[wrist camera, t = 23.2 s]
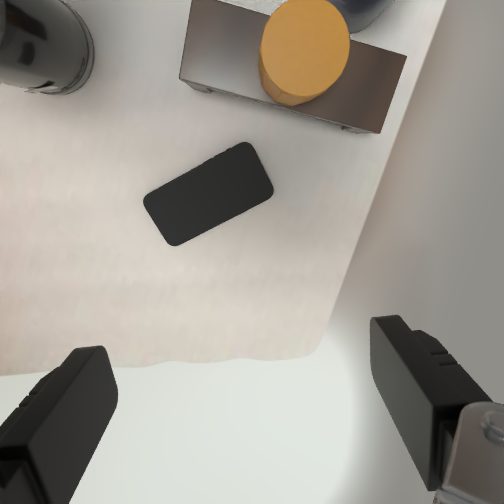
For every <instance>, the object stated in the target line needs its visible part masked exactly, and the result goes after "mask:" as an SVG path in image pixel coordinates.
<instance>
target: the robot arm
mask: <svg viewBox="0 0 504 504" xmlns="http://www.w3.org/2000/svg"><path fill="white" fill-rule="evenodd" d="M93 59H94V50H93V43H92V39H91V36H90V33H89V31H88V29H87V27H86V25H85V23H84V22H83V20H82V19H81V18H80V16H79V15H78V14H77V13H76V12H75V11H74V10H73V9H72V8H71V7H69V6H68V5H67V4H65V3H64V2H62V1H61V0H0V83H1V84H6V85H11V86H16V87H21V88H26V89H30V90H29V91H24V92H29V93H35V92H41V93H45V94H50V95H64V94H68V93H71V92H73V91H75V90H77V89H78V88H80V87H81V86H82V85H83V84H84V82H85V81H86V80H87V78H88V76H89V75H90V72H91V69H92V66H93ZM370 362H371V371H372V375H373V379H374V382H375V384H376V387H377V388H378V390H379V393H380V395H381V397H382V399H383V401H384V403H385V405H386V407H387V409H388V411H389V413H390V415H391V417H392V419H393V421H394V423H395V425H396V427H397V429H398V431H399V433H400V435H401V437H402V439H403V441H404V443H405V445H406V447H407V449H408V451H409V453H410V455H411V457H412V459H413V461H414V463H415V465H416V468H417V469H418V471H419V474H420V476H421V478H422V480H423V482H424V484H425V486H426V488H427V490H428V491H436V494H435V497H434V501H433V504H504V404H500V403H494V402H493V401H492V400H491V399H490V398H489V397H488V395H487V394H486V393H485V392H484V391H483V390H482V389H481V388H480V387H479V385H478V384H477V383H476V382H475V381H474V380H473V379H472V378H471V377H470V375H469V374H468V373H467V372H466V371H465V370H464V369H463V368H462V367H461V365H460V364H457V361H456V360H455V359H454V358H453V357H452V355H451V354H448V351H447V350H446V349H445V348H444V347H443V346H442V344H441V343H440V342H439V341H438V340H437V339H436V338H434V337H432V336H430V335H428V334H427V333H425V332H423V331H421V330H415V331H412V330H411V329H410V328H409V327H408V326H407V324H406V323H405V322H404V321H403V320H402V318H401V317H400V316H399V315H391V316H381V317H372V318H371V320H370ZM117 402H118V388H117V385H116V381H115V378H114V375H113V371H112V368H111V364H110V361H109V358H108V354H107V351H106V349H105V348H104V347H103V346H91V347H82V348H76V349H74V350H73V351H72V352H71V353H70V355H69V356H68V357H67V358H66V359H65V361H64V362H63V363H62V364H61V365H60V367H57V368H55V369H54V370H53V371H51V372H50V373H49V374H47V375H46V376H45V377H43V378H42V379H41V380H40V381H39V382H38V383H37V384H36V385H35V387H34V388H33V389H32V390H31V391H30V393H29V396H26V397H25V398H24V399H23V401H22V402H21V403H20V404H19V407H18V408H16V409H15V410H14V411H13V412H12V413H11V414H10V416H9V417H8V418H7V419H6V420H5V421H4V423H3V424H2V425H1V426H0V504H69V502H70V500H71V498H72V496H73V494H74V492H75V490H76V488H77V486H78V484H79V481H80V480H81V478H82V476H83V474H84V472H85V470H86V468H87V466H88V464H89V462H90V460H91V458H92V455H93V454H94V452H95V450H96V448H97V445H98V444H99V441H100V440H101V437H102V435H103V433H104V431H105V429H106V427H107V425H108V423H109V421H110V419H111V417H112V415H113V413H114V411H115V409H116V406H117Z"/></svg>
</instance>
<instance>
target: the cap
mask: <svg viewBox="0 0 504 504" xmlns="http://www.w3.org/2000/svg"><path fill="white" fill-rule="evenodd" d="M349 49H350V38H349V32H348V28H347V25H346V22H345V20H344V18H343V16H342V15H341V13H340V12H339V11H338V10H337V9H336V7H335V6H333V5H332V4H331V3H330V2H328V1H326V0H288V1H287V2H285V3H283V4H282V5H281V6H280V7H278V8H277V10H276V11H275V12H274V13H273V14H272V15H271V17H270V18H269V20H268V22H267V23H266V25H265V27H264V32H263V35H262V40H261V45H260V49H259V60H258V72H259V76H260V80H261V84H262V88H263V89H264V90H265V91H266V92H267V93H268V94H269V96H270V97H271V98H272V99H273V100H274V101H275V102H278V103H282V104H286V105H289V106H295V105H298V104H301V103H305V102H308V101H310V100H312V99H314V98H315V97H317V96H319V95H320V94H322V93H324V92H325V91H326V90H327V89H328V88H329V87H330V86H331V85H332V84H333V83H335V81H336V80H337V79H338V78H339V77H340V76H341V74H342V72H343V70H344V68H345V66H346V63H347V60H348V56H349Z"/></svg>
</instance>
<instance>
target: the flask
mask: <svg viewBox="0 0 504 504" xmlns="http://www.w3.org/2000/svg"><path fill="white" fill-rule="evenodd" d="M326 1H328V2H330V3H331V4H332V5H333V6H335V7H336V9H337V10H338V11H339V12H340V13H341V15H342V16H343V18H344V20H345V22H346V25H347V28H348V32H349V34H350V33H355V32H358V31H361V30H362V29H364V28H365V27H367V26H368V25H369V24H370V23H371V22H372V21H373V20H374V19H375V18H376V17H378V16H379V15H380V14H381V13H382V12H383V11H384V10H385V9H386V8H387V7H388V6H389V5H390V4H391V3H392V2H393V1H395V0H326Z"/></svg>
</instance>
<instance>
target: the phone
mask: <svg viewBox="0 0 504 504" xmlns="http://www.w3.org/2000/svg"><path fill="white" fill-rule="evenodd" d="M272 195H273V186H272V184H271V182H270V180H269V178H268V176H267V174H266V172H265V170H264V168H263V166H262V164H261V162H260V160H259V158H258V156H257V154H256V152H255V150H254V148H253V147H252V145H251V144H249V143H247V142H242V143H240V144H238V145H236V146H234V147H232V148H229V149H227V150H226V151H225V152H223V153H220V154H218V155H216V156H215V157H214V158H211V159H209V160H207V161H206V162H204V163H203V164H201V165H199V166H198V167H196V168H194V169H192V170H190V171H188V172H187V173H185V174H183V175H181V176H179V177H178V178H176V179H174V180H172V181H170V182H169V183H167V184H165V185H163V186H161V187H159V188H158V189H156V190H154V191H152V192H150V193H149V194H147V195H146V196H145V197H144V199H143V204H144V207H145V208H146V210H147V212H148V213H149V215H150V216H151V218H152V220H153V221H154V223H155V224H156V226H157V228H158V229H159V231H160V232H161V234H162V236H163V237H164V239H165V240H166V242H167V243H168V244H169V245H171V246H178V245H180V244H182V243H184V242H186V241H188V240H190V239H192V238H194V237H196V236H198V235H200V234H202V233H204V232H206V231H208V230H210V229H212V228H214V227H216V226H217V225H219V224H221V223H223V222H225V221H227V220H229V219H231V218H233V217H235V216H237V215H239V214H241V213H243V212H245V211H247V210H249V209H251V208H252V207H254V206H256V205H258V204H260V203H262V202H264V201H266V200H268V199H269V198H270V197H271V196H272Z"/></svg>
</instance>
